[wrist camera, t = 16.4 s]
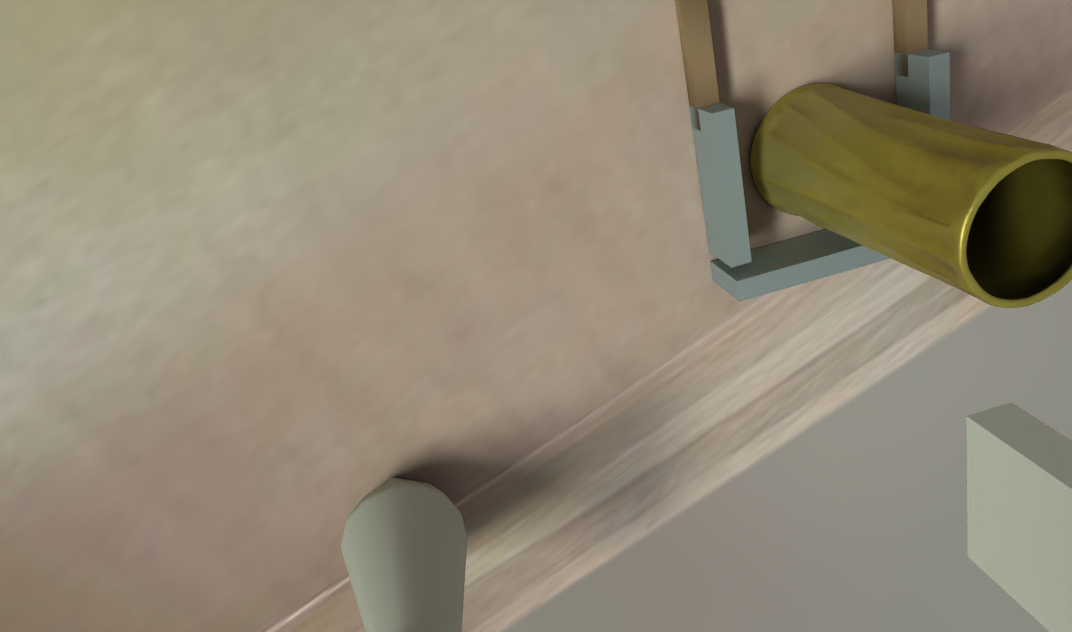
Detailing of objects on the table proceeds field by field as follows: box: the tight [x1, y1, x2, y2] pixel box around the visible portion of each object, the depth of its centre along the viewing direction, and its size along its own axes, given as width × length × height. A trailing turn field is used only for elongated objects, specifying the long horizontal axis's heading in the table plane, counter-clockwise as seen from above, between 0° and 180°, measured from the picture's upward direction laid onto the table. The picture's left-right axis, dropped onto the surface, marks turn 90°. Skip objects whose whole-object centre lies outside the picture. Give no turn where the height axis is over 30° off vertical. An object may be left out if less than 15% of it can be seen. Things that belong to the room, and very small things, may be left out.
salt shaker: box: [341, 478, 467, 632], centre depth 37 cm, size 6×6×13 cm
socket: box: [690, 49, 951, 302], centre depth 39 cm, size 8×11×3 cm
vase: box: [751, 84, 1072, 308], centre depth 34 cm, size 6×6×14 cm
